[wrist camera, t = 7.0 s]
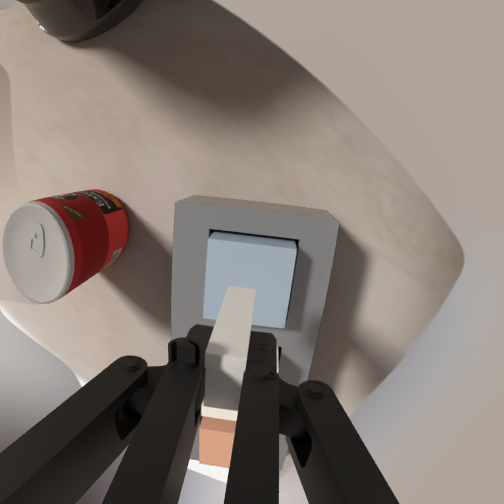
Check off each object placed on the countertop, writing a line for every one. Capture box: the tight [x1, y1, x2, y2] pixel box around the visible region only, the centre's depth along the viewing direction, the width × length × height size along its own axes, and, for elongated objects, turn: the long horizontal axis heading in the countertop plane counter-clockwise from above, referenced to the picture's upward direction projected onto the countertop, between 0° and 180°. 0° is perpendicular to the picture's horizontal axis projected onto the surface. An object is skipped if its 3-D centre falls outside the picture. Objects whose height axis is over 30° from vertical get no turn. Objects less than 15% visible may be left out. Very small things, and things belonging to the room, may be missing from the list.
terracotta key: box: [199, 416, 236, 468], centre depth 29 cm, size 6×6×5 cm
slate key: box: [203, 230, 297, 328], centre depth 25 cm, size 6×6×5 cm
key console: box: [171, 195, 340, 470], centre depth 29 cm, size 28×12×6 cm, turn 174°
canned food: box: [2, 189, 129, 304], centre depth 25 cm, size 8×8×11 cm
